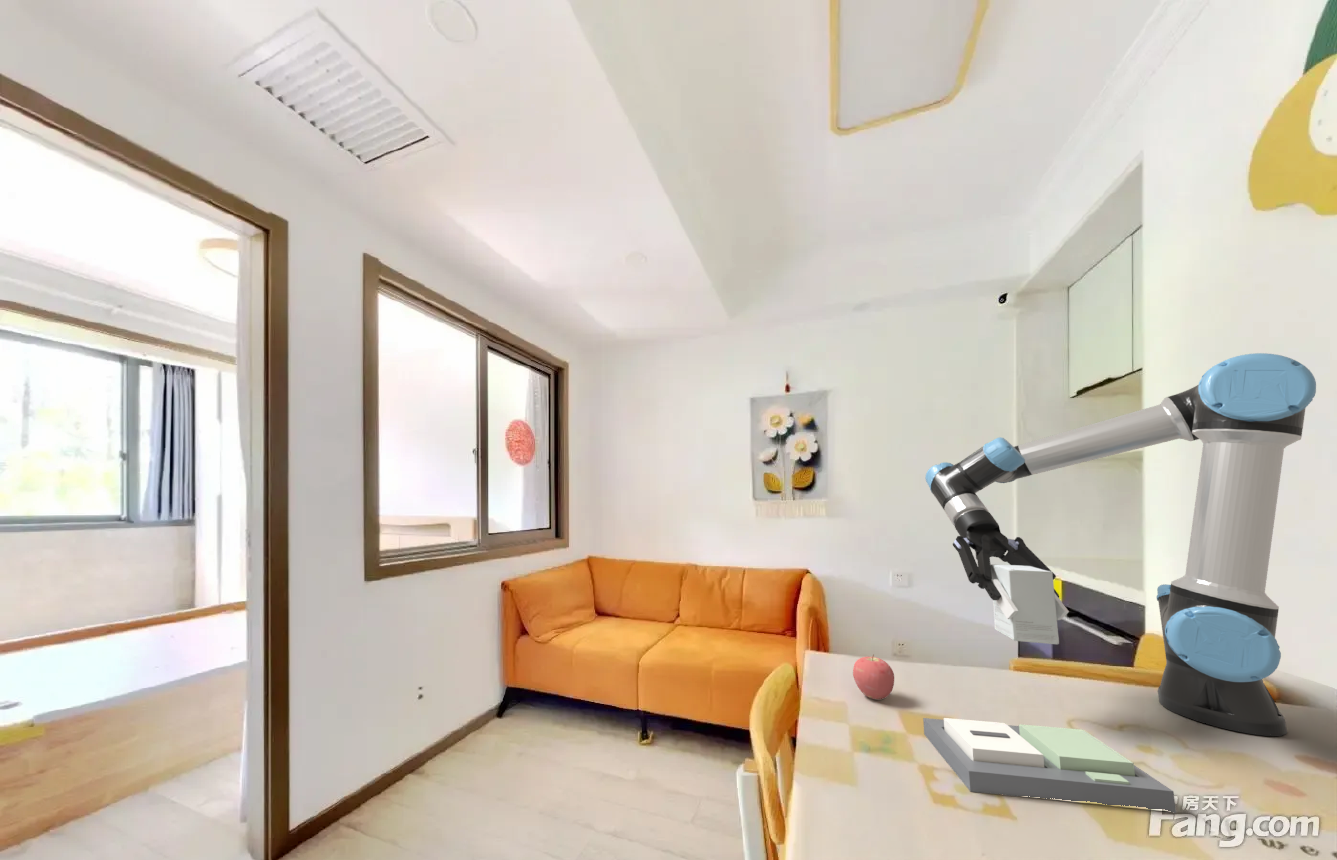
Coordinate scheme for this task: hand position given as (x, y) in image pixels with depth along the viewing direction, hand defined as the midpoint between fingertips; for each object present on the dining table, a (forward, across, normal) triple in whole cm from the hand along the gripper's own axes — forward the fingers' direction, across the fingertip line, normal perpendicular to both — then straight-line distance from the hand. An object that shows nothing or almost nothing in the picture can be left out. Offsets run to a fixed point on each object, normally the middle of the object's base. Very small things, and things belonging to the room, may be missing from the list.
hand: (1037, 615), depth 81 cm
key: (+21, +8, -2) cm, 23 cm away
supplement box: (+1, 0, -6) cm, 6 cm away
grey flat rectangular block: (+22, +13, -4) cm, 26 cm away
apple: (+6, +26, -20) cm, 34 cm away
